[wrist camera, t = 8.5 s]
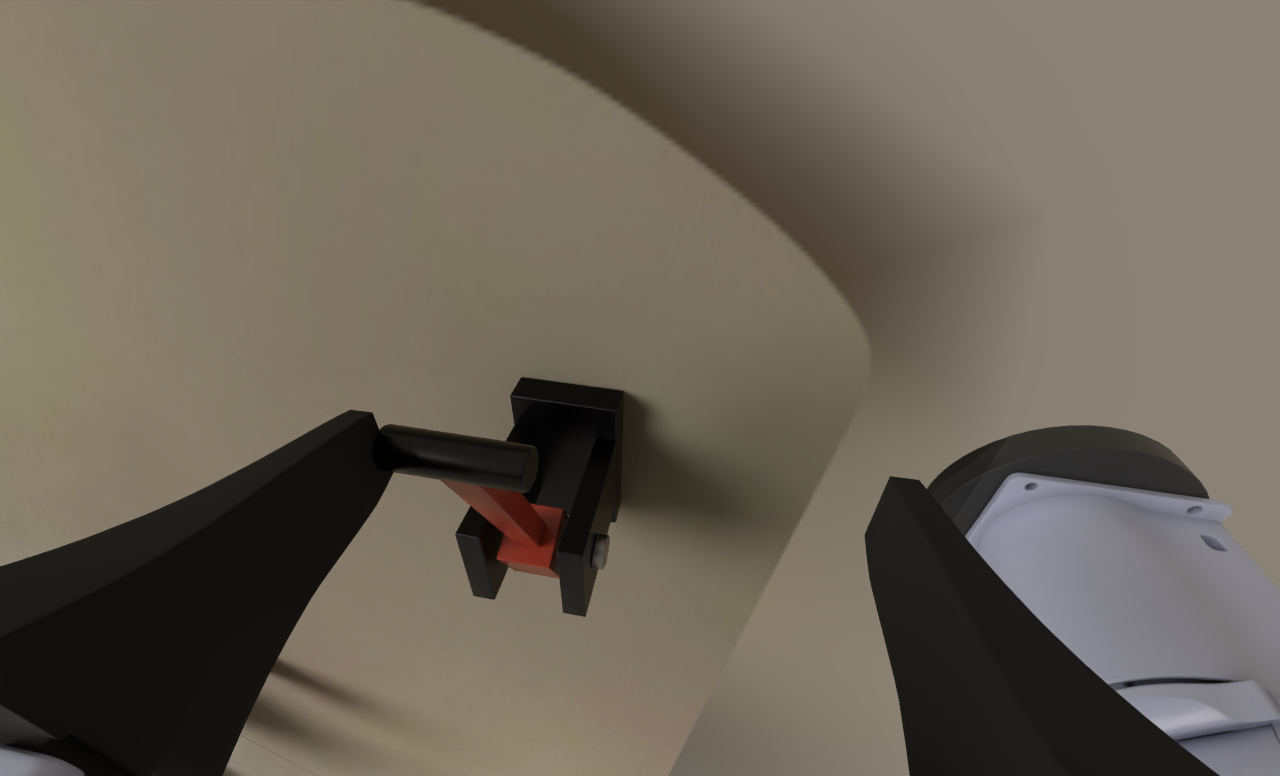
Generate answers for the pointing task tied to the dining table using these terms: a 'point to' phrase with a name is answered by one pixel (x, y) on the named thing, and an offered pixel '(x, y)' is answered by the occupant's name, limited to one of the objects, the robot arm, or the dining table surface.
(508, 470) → the lever
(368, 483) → the robot arm
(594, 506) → the bracket
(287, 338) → the dining table surface
